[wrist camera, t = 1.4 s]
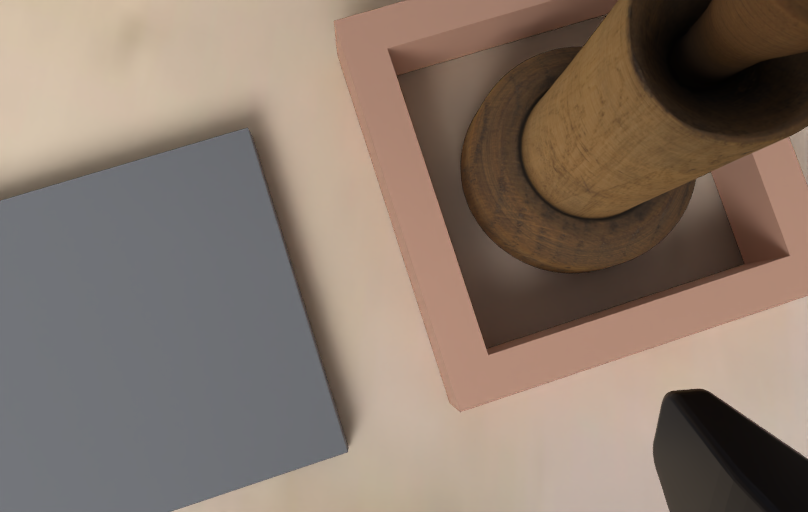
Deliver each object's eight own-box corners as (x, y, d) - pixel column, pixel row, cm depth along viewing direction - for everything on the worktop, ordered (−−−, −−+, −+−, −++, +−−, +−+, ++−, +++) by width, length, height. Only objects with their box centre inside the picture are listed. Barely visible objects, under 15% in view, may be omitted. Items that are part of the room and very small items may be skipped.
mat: (348, 448, 22) (347, 452, 21) (15, 559, 21) (2, 568, 20) (251, 134, 23) (247, 127, 22) (-72, 230, 22) (-89, 226, 21)
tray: (792, 288, 23) (844, 283, 21) (449, 403, 22) (460, 411, 20) (670, -42, 24) (705, -86, 22) (337, 54, 23) (333, 21, 21)
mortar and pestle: (456, 268, 23) (791, 24, 5) (463, 66, 23) (780, -818, 5) (667, 279, 23) (1737, 83, 5) (668, 78, 24) (1608, -719, 6)
